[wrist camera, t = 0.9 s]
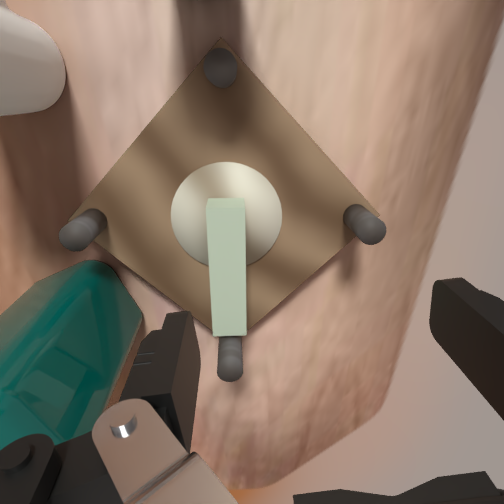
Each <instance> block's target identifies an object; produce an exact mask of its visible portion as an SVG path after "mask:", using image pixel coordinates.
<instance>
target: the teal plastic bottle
mask: <svg viewBox="0 0 504 504" xmlns="http://www.w3.org/2000/svg"><path fill="white" fill-rule="evenodd" d="M141 323H142V313H141V310H140V309H139V307H138V306H137V304H136V303H135V301H134V300H133V299H132V297H131V296H130V294H129V293H128V291H127V290H126V288H125V287H124V285H123V284H122V282H121V281H120V279H119V278H118V277H117V275H116V274H115V272H114V271H113V269H112V268H111V267H109V266H108V265H107V264H105V263H103V262H100V261H96V260H85V261H82V262H80V263H78V264H75V265H73V266H71V267H69V268H67V269H64V270H62V271H60V272H58V273H56V274H53V275H51V276H49V277H47V278H44V279H42V280H40V281H38V282H36V283H35V284H34V285H33V286H32V287H31V288H29V289H28V290H27V291H26V292H25V293H24V294H23V295H22V296H21V297H20V298H19V299H17V300H16V301H15V302H14V303H13V304H12V305H11V306H10V307H9V308H8V309H7V310H5V311H4V312H3V313H2V314H1V315H0V450H2V449H3V448H4V447H6V446H7V445H8V444H10V443H12V442H13V441H15V440H17V439H19V438H21V437H24V436H27V435H31V434H45V435H48V436H49V437H50V438H51V439H52V441H53V443H54V445H58V444H60V443H63V442H65V441H68V440H70V439H73V438H76V437H78V436H81V435H83V434H86V433H88V432H90V431H92V430H93V427H94V424H95V423H96V421H97V419H98V418H99V417H100V416H101V415H102V414H103V412H105V411H106V409H107V406H108V404H109V401H110V399H111V396H112V394H113V392H114V389H115V387H116V384H117V382H118V379H119V377H120V375H121V372H122V370H123V367H124V365H125V362H126V360H127V358H128V355H129V353H130V350H131V348H132V345H133V343H134V341H135V338H136V336H137V333H138V331H139V328H140V326H141Z"/></svg>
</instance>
